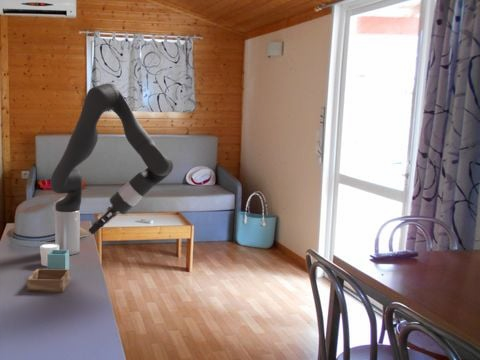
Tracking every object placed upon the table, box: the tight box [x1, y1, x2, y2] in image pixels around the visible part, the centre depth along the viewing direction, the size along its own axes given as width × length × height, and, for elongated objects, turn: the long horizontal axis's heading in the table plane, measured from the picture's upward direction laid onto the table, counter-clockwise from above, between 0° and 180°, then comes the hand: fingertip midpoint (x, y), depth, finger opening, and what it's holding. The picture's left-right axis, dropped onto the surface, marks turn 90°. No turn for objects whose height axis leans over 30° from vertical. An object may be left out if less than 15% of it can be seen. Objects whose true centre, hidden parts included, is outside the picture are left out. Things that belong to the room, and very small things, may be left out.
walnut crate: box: [26, 268, 71, 294], centre depth 190 cm, size 12×11×4 cm
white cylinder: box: [39, 243, 59, 267], centre depth 213 cm, size 7×7×7 cm
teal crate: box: [47, 250, 70, 270], centre depth 202 cm, size 6×6×8 cm
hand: (92, 229), depth 201 cm, fingers open, 8 cm apart
